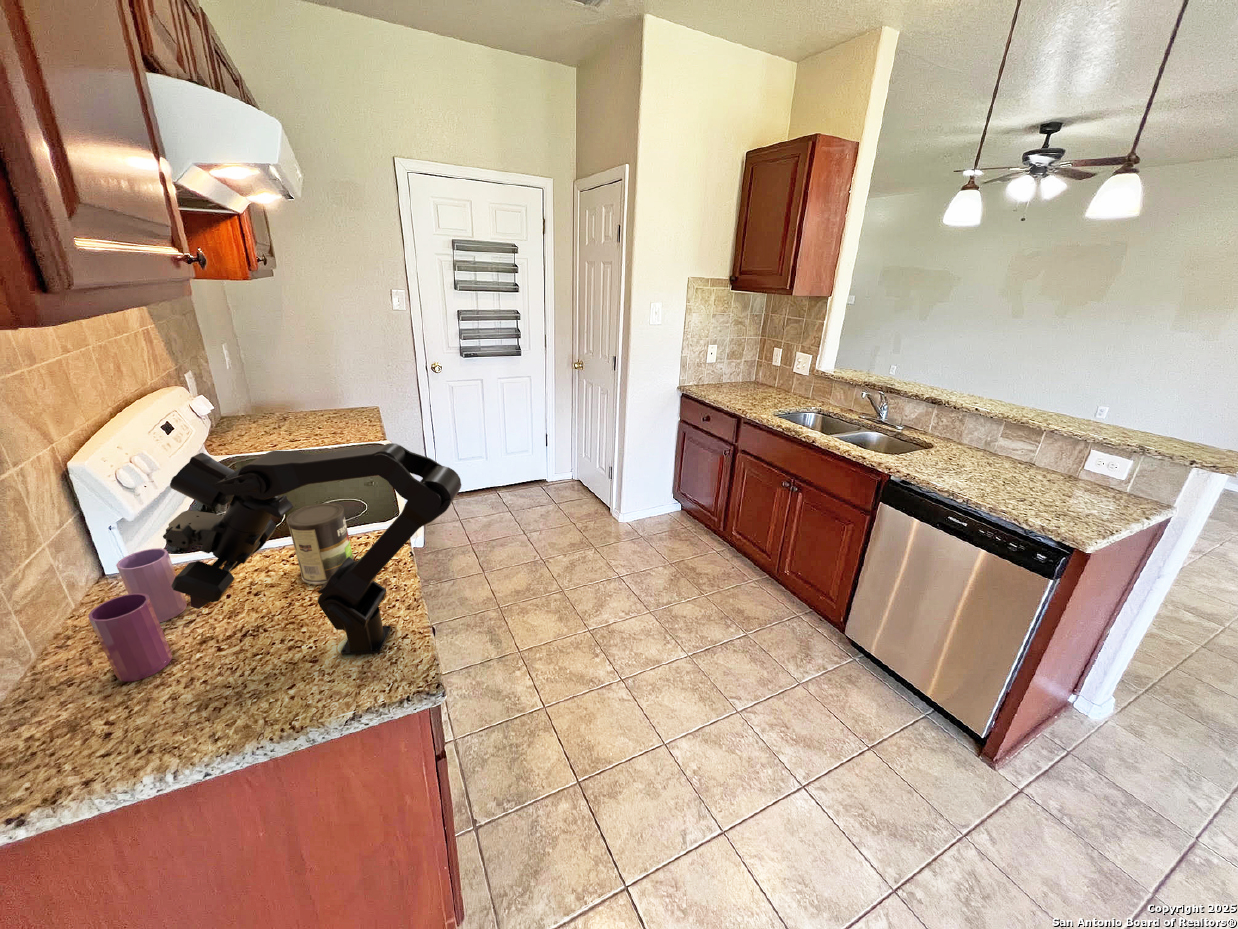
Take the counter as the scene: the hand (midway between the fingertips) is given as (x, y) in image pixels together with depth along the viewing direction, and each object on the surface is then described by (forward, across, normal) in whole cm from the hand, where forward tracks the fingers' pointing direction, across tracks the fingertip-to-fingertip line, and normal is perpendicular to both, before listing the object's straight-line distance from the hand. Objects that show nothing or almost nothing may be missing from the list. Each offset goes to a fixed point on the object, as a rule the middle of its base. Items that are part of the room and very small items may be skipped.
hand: (211, 588), depth 82 cm
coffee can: (+6, -20, +15) cm, 25 cm away
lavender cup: (+20, -9, -7) cm, 23 cm away
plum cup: (+15, +5, -2) cm, 16 cm away
